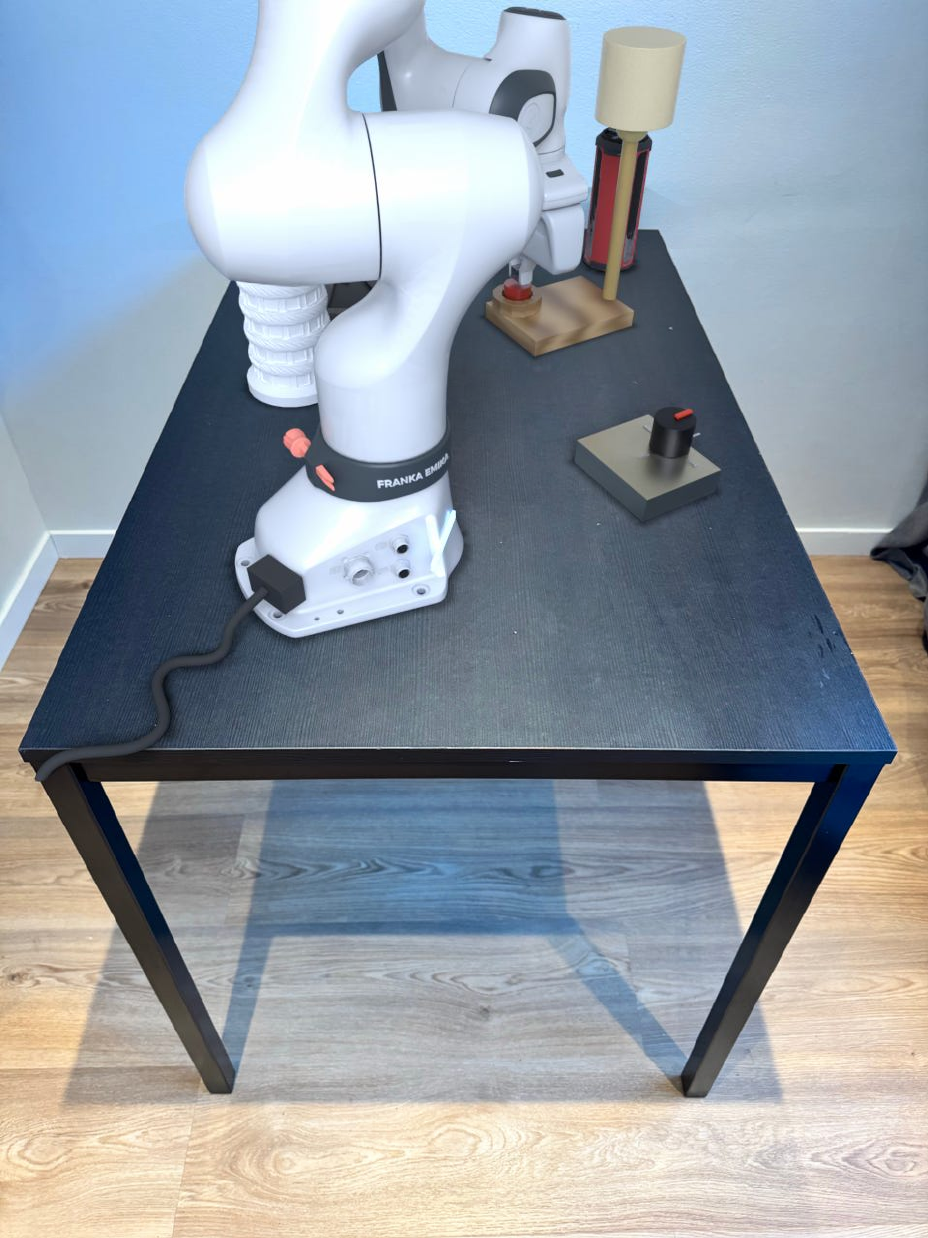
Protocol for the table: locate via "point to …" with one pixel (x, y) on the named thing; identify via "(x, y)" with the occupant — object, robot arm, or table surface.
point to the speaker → (613, 199)
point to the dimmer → (644, 470)
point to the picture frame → (346, 295)
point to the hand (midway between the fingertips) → (520, 280)
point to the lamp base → (558, 315)
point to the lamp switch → (516, 290)
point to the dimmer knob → (672, 431)
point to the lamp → (635, 109)
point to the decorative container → (283, 340)
